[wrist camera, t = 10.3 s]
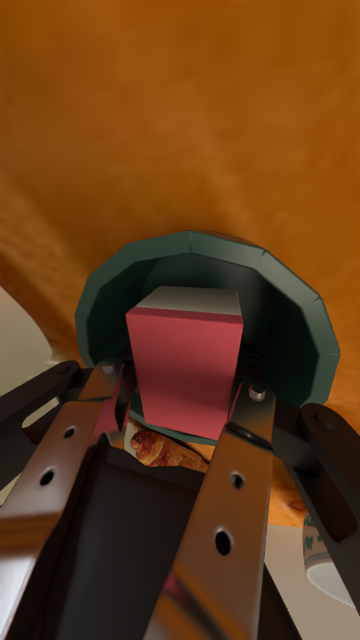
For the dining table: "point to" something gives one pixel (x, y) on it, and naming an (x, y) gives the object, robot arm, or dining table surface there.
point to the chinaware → (321, 564)
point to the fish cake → (186, 356)
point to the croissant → (164, 452)
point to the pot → (217, 273)
